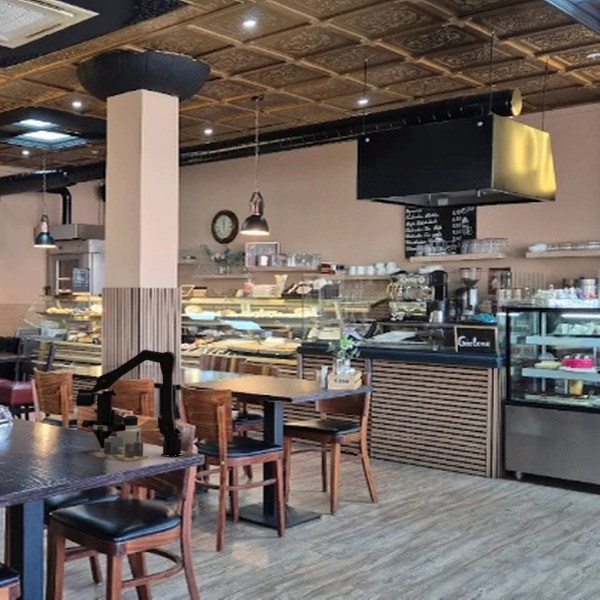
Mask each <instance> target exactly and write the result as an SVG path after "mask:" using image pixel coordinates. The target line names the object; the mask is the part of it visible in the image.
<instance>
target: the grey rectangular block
mask: <svg viewBox="0 0 600 600" xmlns="http://www.w3.org/2000/svg"><path fill="white" fill-rule="evenodd" d="M105 442H111V453H108V454H112V453H118V452H123V451H124V452H125V448H123V437H117V436H115V437H109V438H107V439H105ZM104 446H105V443H104ZM99 451H100V453H104V448H101V449H100V450H99ZM104 454H106V453H104Z"/></svg>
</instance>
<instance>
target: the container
mask: <svg viewBox="0 0 600 600" xmlns="http://www.w3.org/2000/svg"><path fill="white" fill-rule="evenodd" d="M122 417H124V419H123V422H122V423H124V424H125V425H126V431H119V432H116V437H123V448H125V444H126V443H132V444H134V442H141V441H142V439H141V438H142V436H141V435H142V428H140V427H138V423H139V421H138V420H139V418H138V416H136V415H129V414H128V415H122Z"/></svg>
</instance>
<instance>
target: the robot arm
mask: <svg viewBox="0 0 600 600" xmlns="http://www.w3.org/2000/svg"><path fill="white" fill-rule="evenodd" d="M176 360H177V356H176V354H175V353H174V352H173V351H164V352H160V351H154V350H149V349H143V350H141V351H140V352H139V353H138V354H136V355H134V356H133V357H132V358H130V359H129V360H127V361H125V362H124V363H123V364H121V365H120V366H118V367H117V368H115V369H113V370H110V371H108V372H106V373H103V374H100V375H99V376H98V377H97V379H96V384H95V385H94V386H93V387H92V388H90V389H88V388H87V389H86V388H78V389H77V394H76V398H75V403H76V407H87V408H88V407H89V408H93V406H94V405H96V409H94V410H93V413H96V415H95V416H96V417H95V418H89V419H83V420H82V422H81V427H82V428H83V429H85V428H86V429H88V428H89V427H93V428H92V429H91V431H92V432H93V434H94V436H95V437H96V439H97V441H98V444H99V446H100V448H101V449H104V443H105V439H107V438H110V436H111V434H112V433H117V432H119V431H126V425H125V424H124V423H122V422H123V419H124V417H123V415H119V414H117V413H115V412H116V411H115V409H113V396H114V397H116V396H118V395H119V393H118V392H117V391H116V390H115V389H114V388H113V389H111V390H109V389H110V388H112V387H113V386H114V385H115V384H116V383H117V382H118V381H119V380H120V379H121V378H122V377H123V376H125V375H126V374H128V373H129V372H131V371H132V370H134V369H135V368H137V367H138V366H140V365H142V364H143V363H144V362H146V361H148V362H154V363H158V364H159V367H160V370H161V371H160V372H161V375H162V384H161V385H162V386H161V388H162V389H161V390H162V391H161V392H162V411H161V415H159V416H158V417H157V422H158V423H157V429H158V430H159V433H160V434H161V436H163V442H162V453H160V454H161V455H160V456H163V455H169V456H175V455H179V454H182V439H181V435H182V431H180V430H179V428H177V423H176V418H175V414H174V406H173V405H174V398H173V396H174V395H173V393H174V389H173V388H174V387H173V385H174V384H173V383H174V382H173V380H174V371H175V366H176ZM101 391H102V392H101ZM99 392H100V393H99ZM169 456H168V457H169ZM175 457H176V456H175Z"/></svg>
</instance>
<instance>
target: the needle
mask: <svg viewBox="0 0 600 600" xmlns="http://www.w3.org/2000/svg"><path fill="white" fill-rule="evenodd" d="M103 449H104V453H106V454H108V453H111V442H105V446H104V448H103Z"/></svg>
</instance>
